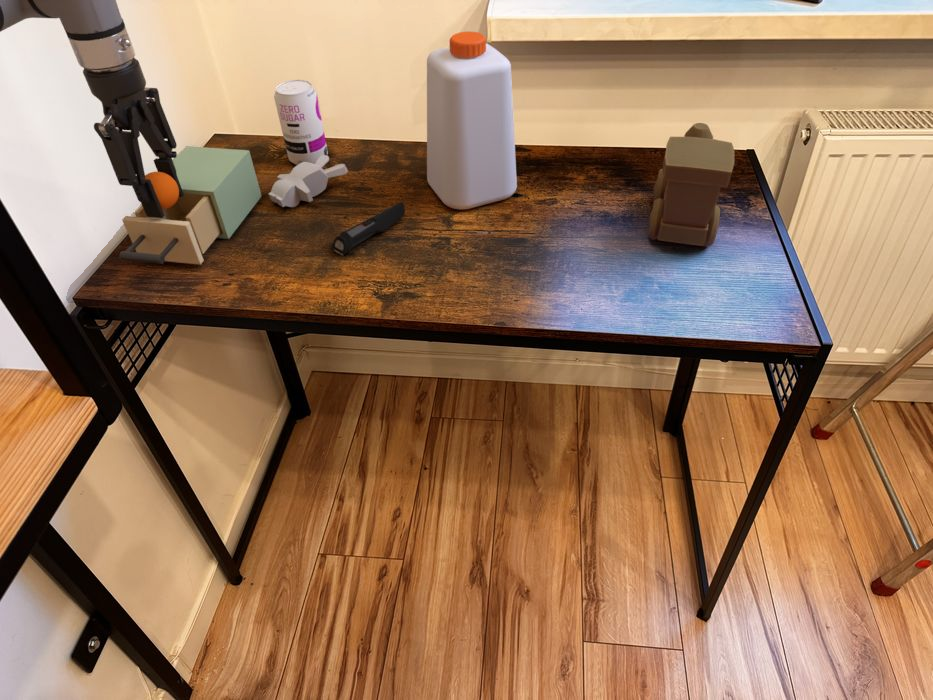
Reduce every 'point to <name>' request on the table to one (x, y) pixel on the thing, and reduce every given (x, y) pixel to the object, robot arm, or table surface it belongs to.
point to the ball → (164, 188)
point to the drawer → (173, 232)
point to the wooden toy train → (691, 188)
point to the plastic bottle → (470, 123)
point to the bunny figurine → (304, 182)
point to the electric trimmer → (368, 228)
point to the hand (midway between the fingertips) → (165, 205)
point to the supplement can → (300, 121)
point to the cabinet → (220, 182)
